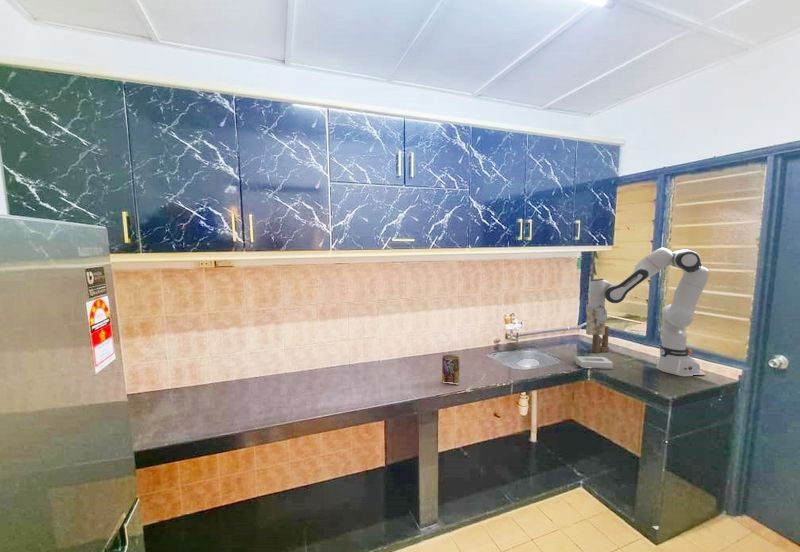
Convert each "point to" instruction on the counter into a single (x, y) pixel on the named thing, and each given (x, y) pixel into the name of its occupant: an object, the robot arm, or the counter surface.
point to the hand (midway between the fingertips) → (595, 324)
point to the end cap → (594, 362)
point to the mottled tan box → (594, 324)
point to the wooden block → (598, 340)
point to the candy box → (450, 368)
